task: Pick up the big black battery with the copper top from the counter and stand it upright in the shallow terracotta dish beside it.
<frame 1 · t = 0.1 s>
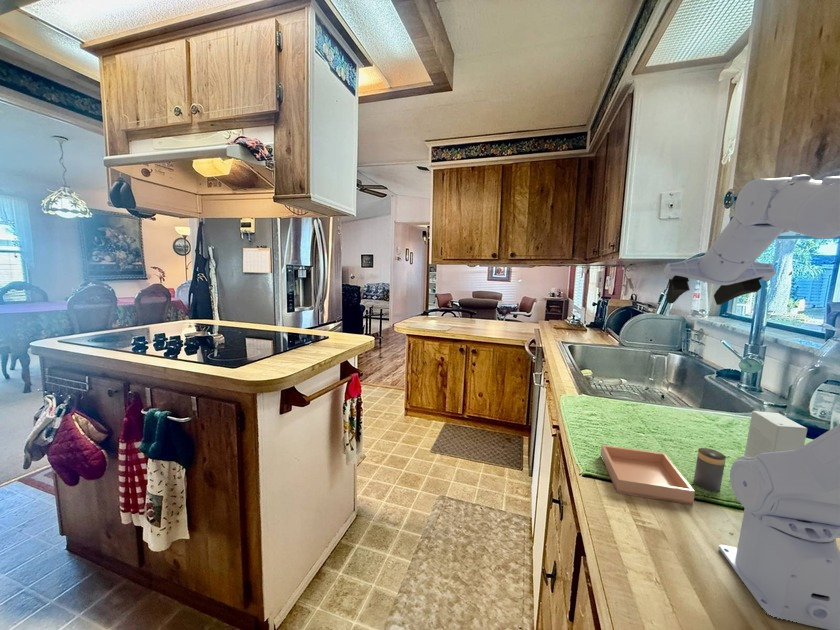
hand: (692, 299, 62), 32 cm above the worktop, tool tilted 50°, fingers open, 7 cm apart
skincare box: (766, 481, 60), on the worktop
cell: (706, 484, 59), on the worktop
dish: (641, 478, 60), on the worktop
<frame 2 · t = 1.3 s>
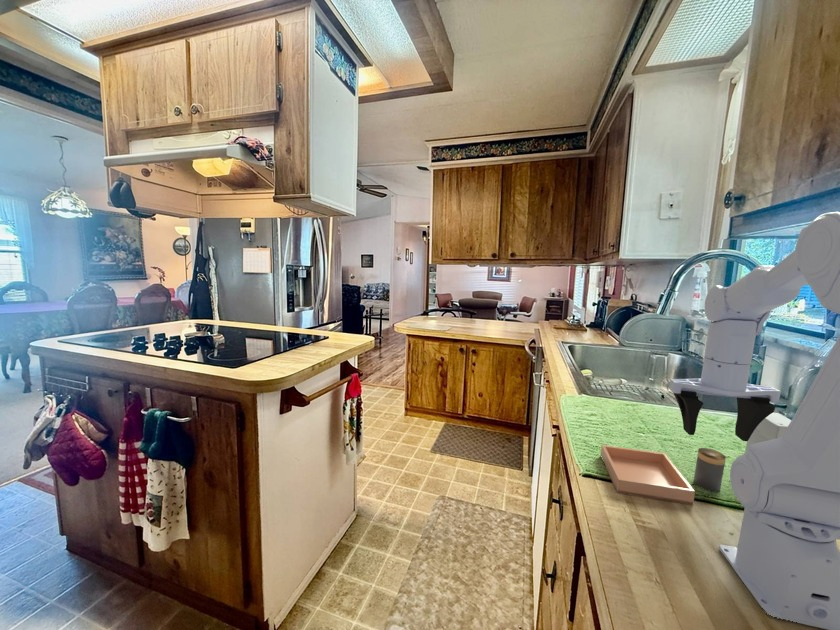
hand: (714, 435, 57), 9 cm above the worktop, tool pointing down, fingers open, 7 cm apart
nothing on the worktop moved.
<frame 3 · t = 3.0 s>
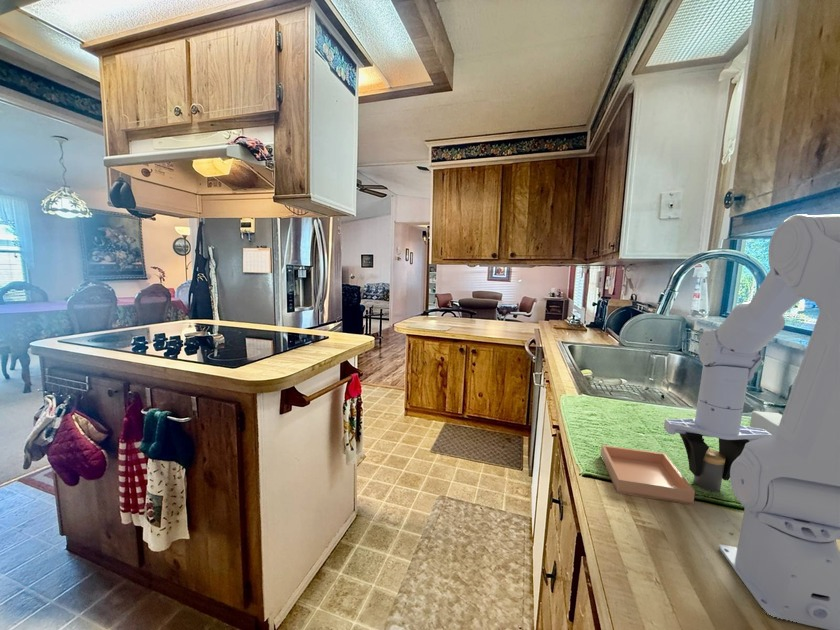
hand: (708, 474, 58), 2 cm above the worktop, tool pointing down, fingers closed on cell, 4 cm apart
cell: (706, 484, 59), on the worktop, touching gripper
everything else where it was.
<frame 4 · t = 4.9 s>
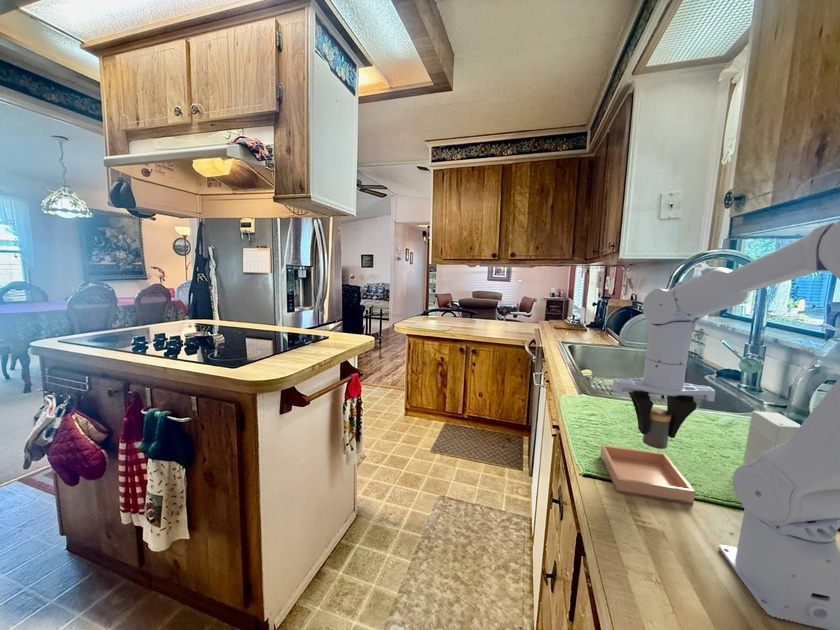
hand: (655, 433, 59), 9 cm above the worktop, tool pointing down, fingers closed on cell, 4 cm apart
cell: (654, 443, 59), point 7 cm above the worktop, touching gripper
everything else where it was.
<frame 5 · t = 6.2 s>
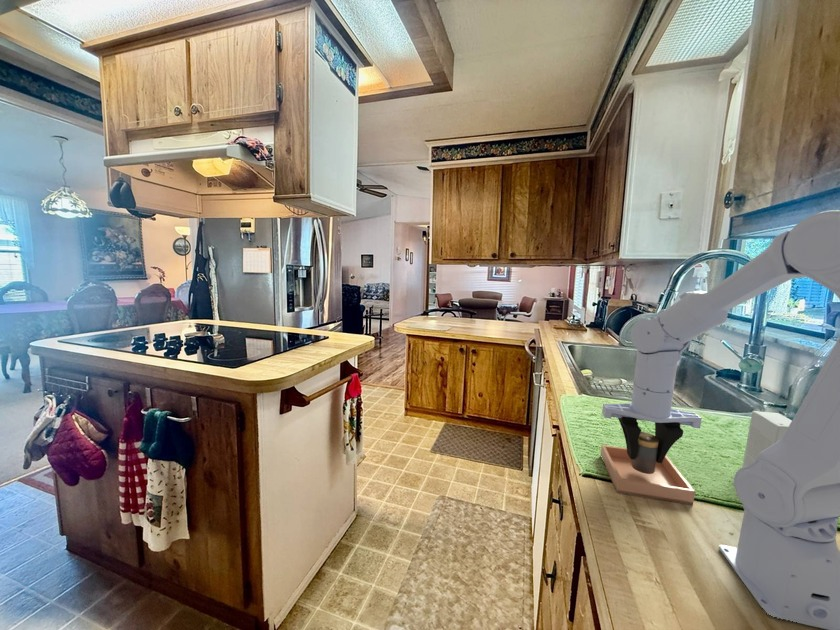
hand: (644, 458, 60), 4 cm above the worktop, tool pointing down, fingers closed on cell, 4 cm apart
cell: (642, 467, 60), point 2 cm above the worktop, touching gripper
everything else where it was.
when the fingers open (4 cm above the worktop, at t = 7.0 s): cell drops 1 cm, resting on dish.
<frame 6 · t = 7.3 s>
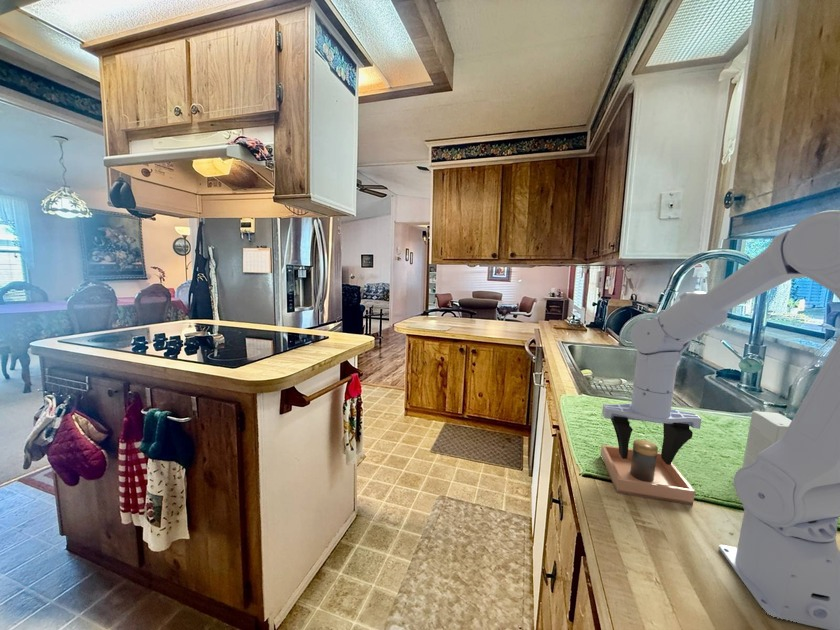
hand: (644, 458, 60), 4 cm above the worktop, tool pointing down, fingers open, 6 cm apart
cell: (641, 475, 60), point 1 cm above the worktop, touching dish
everything else where it was.
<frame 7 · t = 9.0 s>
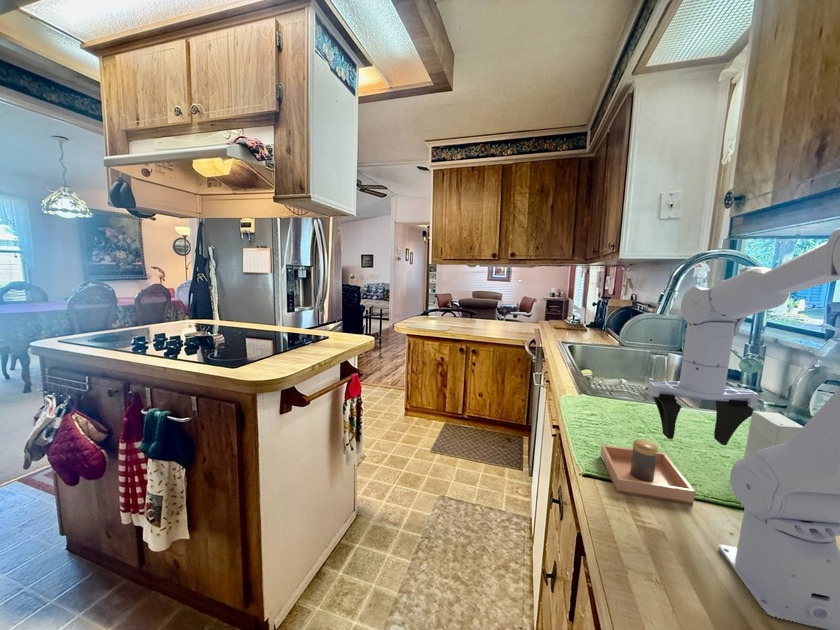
hand: (693, 439, 56), 9 cm above the worktop, tool pointing down, fingers open, 7 cm apart
nothing on the worktop moved.
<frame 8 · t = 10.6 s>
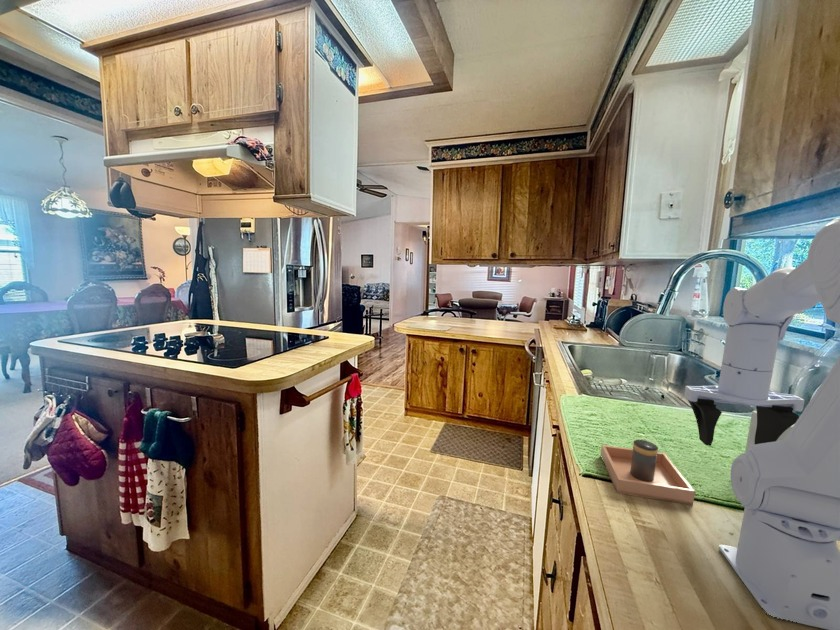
hand: (732, 445, 54), 9 cm above the worktop, tool pointing down, fingers open, 7 cm apart
nothing on the worktop moved.
at the end: cell 0.1 cm off-centre on the dish, point 0.5 cm above the dish's base; cell tilted 0°; the gripper is holding nothing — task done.
